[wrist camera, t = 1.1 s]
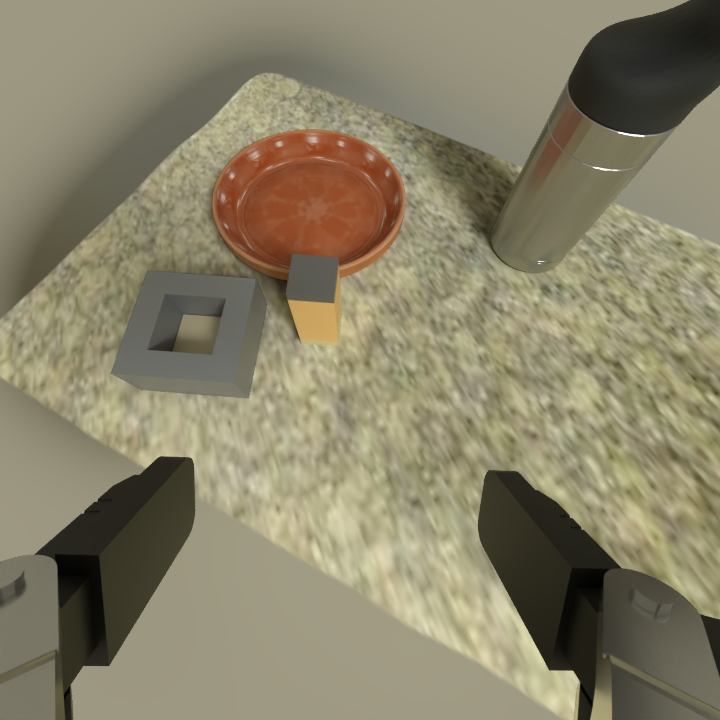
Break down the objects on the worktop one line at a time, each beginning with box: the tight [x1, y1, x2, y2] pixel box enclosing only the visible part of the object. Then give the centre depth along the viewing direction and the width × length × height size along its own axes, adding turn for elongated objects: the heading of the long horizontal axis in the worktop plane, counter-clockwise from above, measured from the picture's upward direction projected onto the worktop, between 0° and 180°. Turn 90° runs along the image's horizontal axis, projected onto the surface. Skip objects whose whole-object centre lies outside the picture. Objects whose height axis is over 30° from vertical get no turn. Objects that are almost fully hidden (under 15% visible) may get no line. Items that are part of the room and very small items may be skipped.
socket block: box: [111, 271, 267, 398], centre depth 36 cm, size 11×11×5 cm
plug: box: [286, 254, 342, 347], centre depth 35 cm, size 4×4×10 cm
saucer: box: [212, 129, 406, 281], centre depth 44 cm, size 23×23×4 cm
